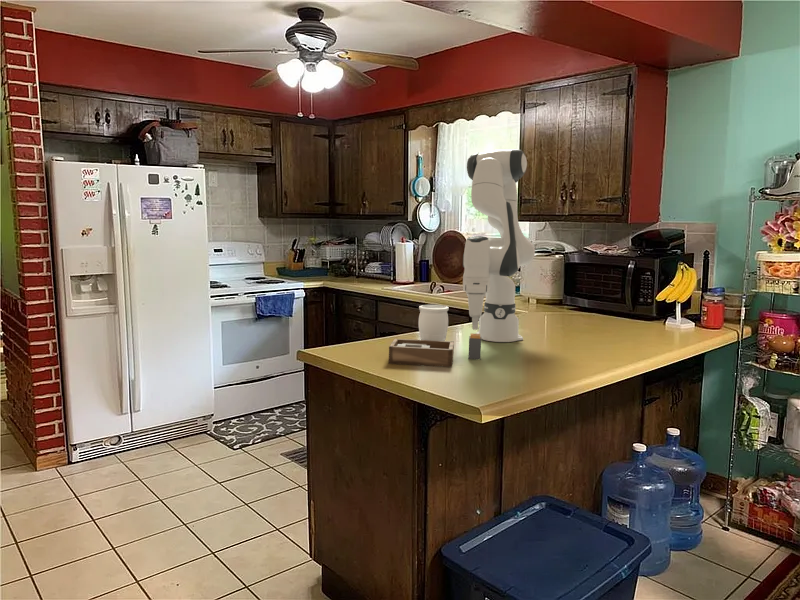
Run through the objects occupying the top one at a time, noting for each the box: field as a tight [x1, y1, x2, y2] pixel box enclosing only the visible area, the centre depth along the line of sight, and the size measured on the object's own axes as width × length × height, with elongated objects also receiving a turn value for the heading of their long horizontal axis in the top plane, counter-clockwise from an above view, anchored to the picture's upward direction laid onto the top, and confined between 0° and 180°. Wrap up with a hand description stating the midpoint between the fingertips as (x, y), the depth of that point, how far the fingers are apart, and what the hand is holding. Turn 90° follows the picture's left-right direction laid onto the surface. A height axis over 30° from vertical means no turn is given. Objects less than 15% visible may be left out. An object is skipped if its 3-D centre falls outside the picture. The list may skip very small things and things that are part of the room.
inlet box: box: [388, 338, 455, 368], centre depth 198 cm, size 13×20×6 cm, turn 83°
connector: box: [467, 332, 482, 360], centre depth 203 cm, size 4×4×8 cm
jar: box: [417, 304, 449, 341], centre depth 216 cm, size 11×10×15 cm
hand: (475, 327), depth 202 cm, fingers open, 8 cm apart
